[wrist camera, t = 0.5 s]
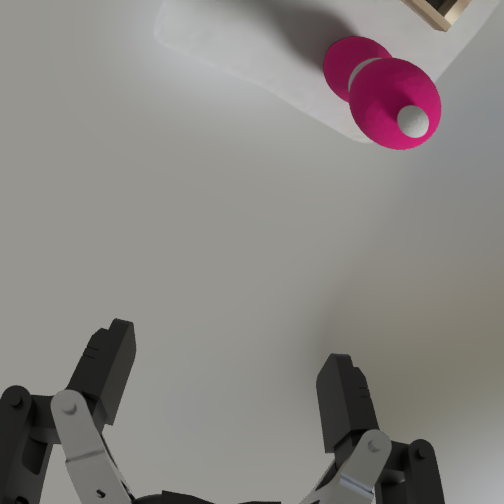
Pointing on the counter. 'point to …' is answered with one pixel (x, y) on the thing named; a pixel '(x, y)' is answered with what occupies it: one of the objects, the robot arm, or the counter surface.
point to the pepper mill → (383, 93)
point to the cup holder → (438, 12)
